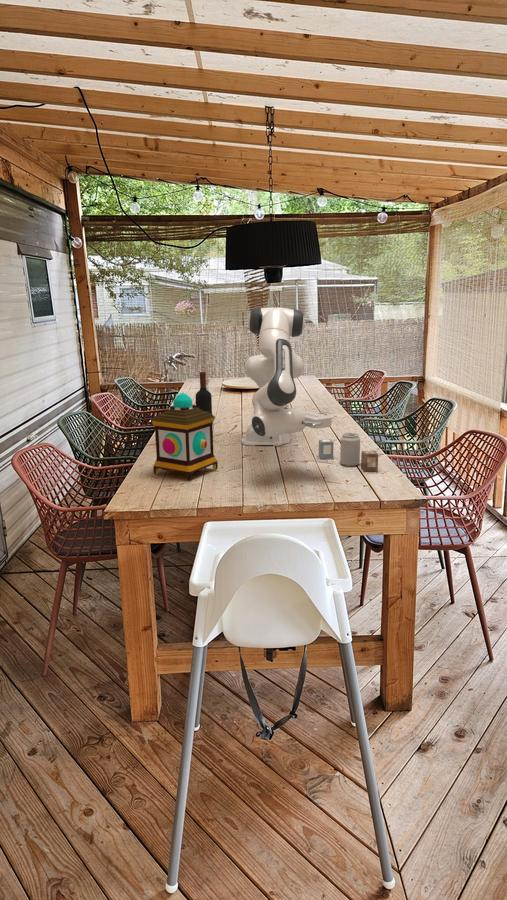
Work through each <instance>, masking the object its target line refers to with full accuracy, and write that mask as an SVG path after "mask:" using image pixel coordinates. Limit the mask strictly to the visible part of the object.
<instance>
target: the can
mask: <svg viewBox="0 0 507 900" xmlns="http://www.w3.org/2000/svg"><path fill="white" fill-rule="evenodd" d="M339 452H340V453H339V455H340V458H339V462H340V464H341V465H342V466H344V467H356V465H357V466H358V465H359V464H361V461H360V459H361V437H360V435H359V433H355V432H344V433H342V436H341V437H340V451H339Z"/></svg>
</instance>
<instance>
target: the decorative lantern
mask: <svg viewBox="0 0 507 900" xmlns="http://www.w3.org/2000/svg"><path fill="white" fill-rule="evenodd" d="M215 418H216V416H215V415H213V413H212V414H210V413H209V412H207V411H203V410H200V408H198V407H196V404H193V399H192V397H191V396H189V395H188V394H187V393H185V392H181V393H179V394H177V395H176V396H175V397H174V399H173V405H171V406H169V408H168V409H166V411H164V412H162V413H158V414H157V415H156V416H155V417H153V418H152V419H151V423H152V425H153V427H154V433H155V435H154V436H155V448H156V449H155V451H156V452H155V453H156V459H155V462H154V463H153V467H152V469H153V474H154V475H155V476H157V475H158V474H159V469H160V470H164V471H165V470H166V471H170V472H177V473H181V474H185V475H186V476H187V480H188V481H189V482H191V481H192V476H193V474H194V473H195V472H198V471H202V470H204V469H205V468H208V467H210V466H212V468H213V471H217V470H218V467H219V466H218V465H219V464H218V460H217V457H216V456H215V454H214V432H213V431H214V430H213V429H214V428H213V421H214V419H215Z"/></svg>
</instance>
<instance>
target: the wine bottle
mask: <svg viewBox="0 0 507 900" xmlns="http://www.w3.org/2000/svg"><path fill="white" fill-rule="evenodd" d="M212 399H213V398H212V393H211V392H210V390H209V391H208V390H207V389H206V372H204V371H200V372H199V390H198V391H197V392H196V393H195V405H196V407H198V408H200V410H203V411H207V412H209V413H210V414H213V401H212Z"/></svg>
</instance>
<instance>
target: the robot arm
mask: <svg viewBox="0 0 507 900" xmlns="http://www.w3.org/2000/svg"><path fill="white" fill-rule="evenodd" d="M247 324H248V328H249V332H250V333H252V334H254V335H257V336H258V349H259V352H260V353H261V354H257V355H256V354H255V355H253V356H249V357H248V359H246V362H245V367H244V369H245V373H246V375H247V377H249V378H250V380H252V381H254V383H256V385H257V387H258V390H257V391H256V392H255V393H254V394H253V395H252V397H251V398H252V399H251V402H252V403H251V404H252V406H253V415H252V418H251V424H250V425H249V426H247V429H246V432H245V436H243V437H242V438H241V439H240V442H241V444H242V445H244V446H255V445H273V446H272V447H274V446H275V447H280V446H282V445H285V444H288V443H290V442H291V441H292V440H291V436H290V434H296V433H300V432H303V431H304V430H305V427H308V428H310V429H326V428H330V427H332V421H333V419H332V416H330V415H328V414H327V413H325V412H322V411H321V412H316V411H315V412H314V411H310V410H306V409H303V408H300V407H297V406H296V407H288V404H290V403H292V402H293V401H294V400H295V398H296V396H297V387H296V382H295V380H294V379H297V378H299V377H301V376H302V375H303V373H304V370H305V363H304V360H303V358H302V357H301V356H300V355H298V354H297V353H295V352H294V351H293V349H292V346H291V343H290V341H291V340H290V337H291V338H296V337H300V336H302V334H303V332H304V330H305V327H306V318H305V316H304V312H302V310H299V309H295V308H294V309H292V308H286V307H279V306H278V307H261V306H257V307H254V308H252V309H251V310H250V313H249V314H248V317H247Z"/></svg>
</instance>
